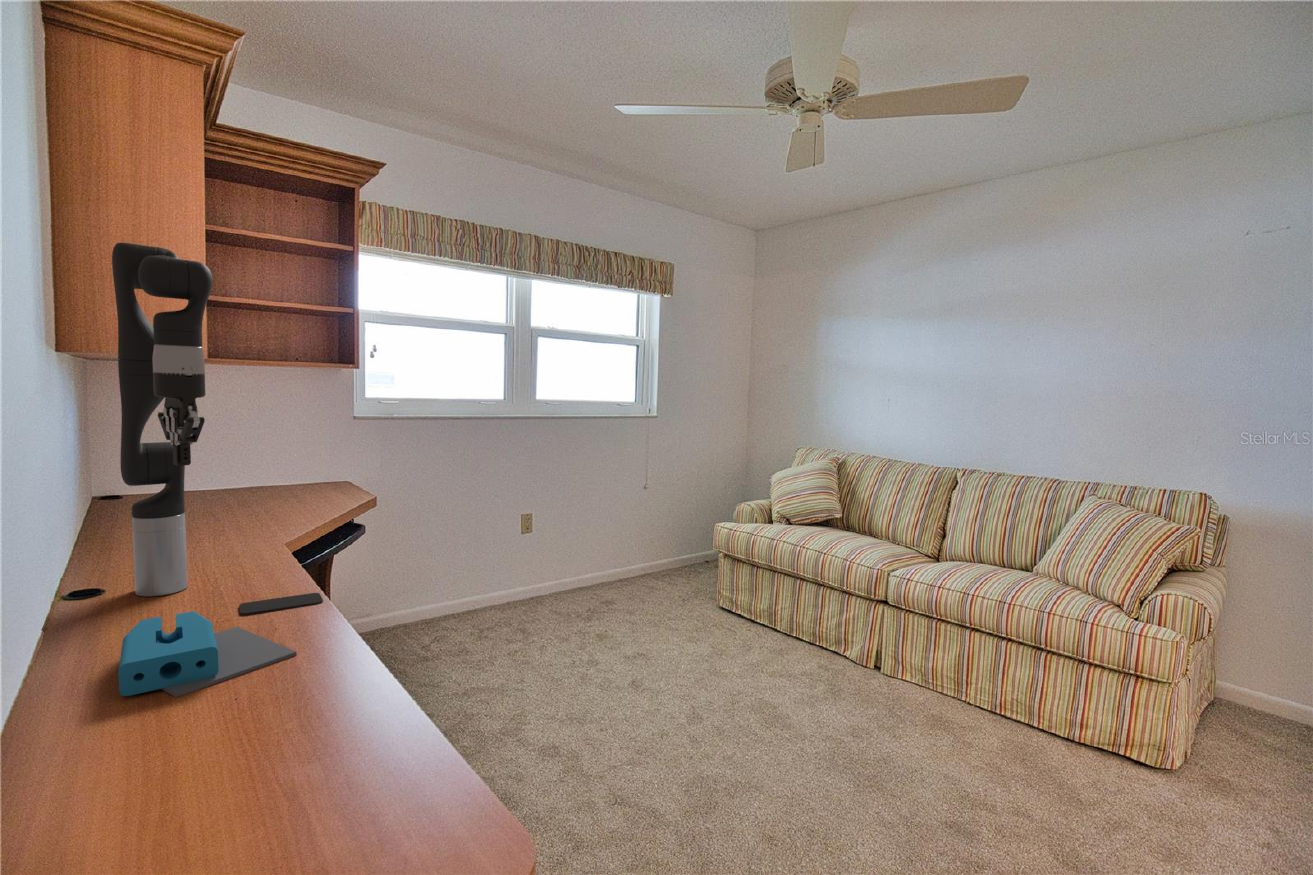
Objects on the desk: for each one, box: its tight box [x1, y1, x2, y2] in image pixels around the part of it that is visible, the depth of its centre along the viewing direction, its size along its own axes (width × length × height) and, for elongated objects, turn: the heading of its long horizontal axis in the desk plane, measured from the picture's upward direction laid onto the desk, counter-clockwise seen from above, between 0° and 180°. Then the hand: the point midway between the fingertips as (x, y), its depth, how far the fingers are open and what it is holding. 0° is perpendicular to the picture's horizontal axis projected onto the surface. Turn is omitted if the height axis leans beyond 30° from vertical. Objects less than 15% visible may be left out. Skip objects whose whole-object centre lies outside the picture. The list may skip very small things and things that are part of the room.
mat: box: [161, 626, 298, 698], centre depth 106 cm, size 20×18×1 cm
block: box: [118, 611, 219, 697], centre depth 103 cm, size 12×5×20 cm
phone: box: [238, 592, 324, 617], centre depth 133 cm, size 7×1×15 cm
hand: (182, 464), depth 115 cm, fingers closed
